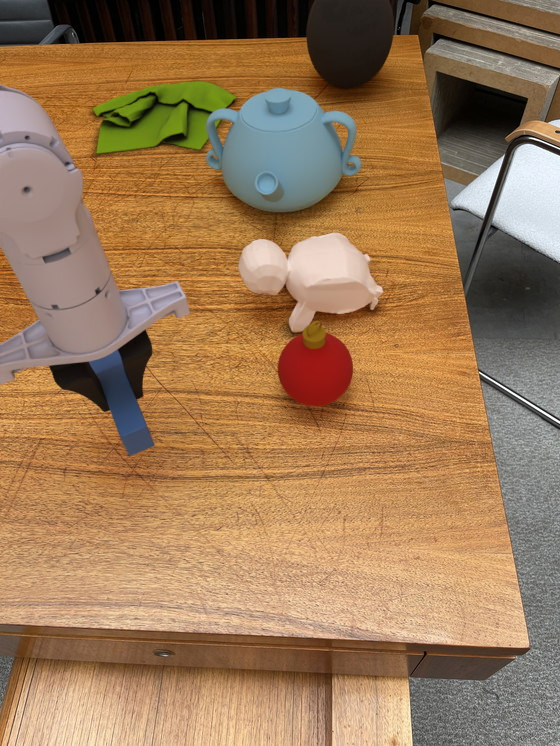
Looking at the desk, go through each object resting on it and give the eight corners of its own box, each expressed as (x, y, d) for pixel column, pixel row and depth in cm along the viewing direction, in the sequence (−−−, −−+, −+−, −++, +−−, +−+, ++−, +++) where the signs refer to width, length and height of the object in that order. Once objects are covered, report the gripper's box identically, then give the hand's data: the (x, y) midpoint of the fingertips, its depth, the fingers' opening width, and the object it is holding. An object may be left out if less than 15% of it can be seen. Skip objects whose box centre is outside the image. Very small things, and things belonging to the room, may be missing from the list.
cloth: (253, 94, 97) (251, 79, 95) (175, 175, 85) (172, 160, 83) (142, 70, 103) (139, 55, 101) (57, 143, 92) (51, 128, 90)
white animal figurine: (345, 285, 75) (223, 271, 70) (375, 228, 69) (243, 209, 64) (364, 339, 70) (234, 329, 65) (398, 282, 64) (257, 266, 59)
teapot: (364, 153, 86) (369, 60, 76) (352, 255, 74) (356, 160, 64) (222, 149, 89) (208, 58, 78) (188, 246, 77) (167, 154, 67)
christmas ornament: (323, 351, 66) (322, 281, 58) (366, 396, 62) (372, 328, 54) (266, 385, 63) (257, 317, 55) (308, 433, 60) (304, 368, 52)
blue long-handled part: (165, 441, 52) (157, 421, 50) (118, 461, 51) (108, 441, 49) (128, 350, 58) (119, 329, 56) (85, 366, 57) (75, 345, 55)
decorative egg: (307, 65, 101) (305, -41, 89) (386, 61, 100) (394, -46, 88) (307, 108, 93) (304, -2, 82) (392, 104, 93) (401, -7, 81)
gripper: (152, 210, 46) (186, 332, 57) (-50, 278, 43) (26, 393, 54) (185, 270, 42) (214, 389, 53) (-36, 349, 39) (43, 458, 50)
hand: (121, 395), depth 53 cm, fingers closed on blue long-handled part, 2 cm apart
